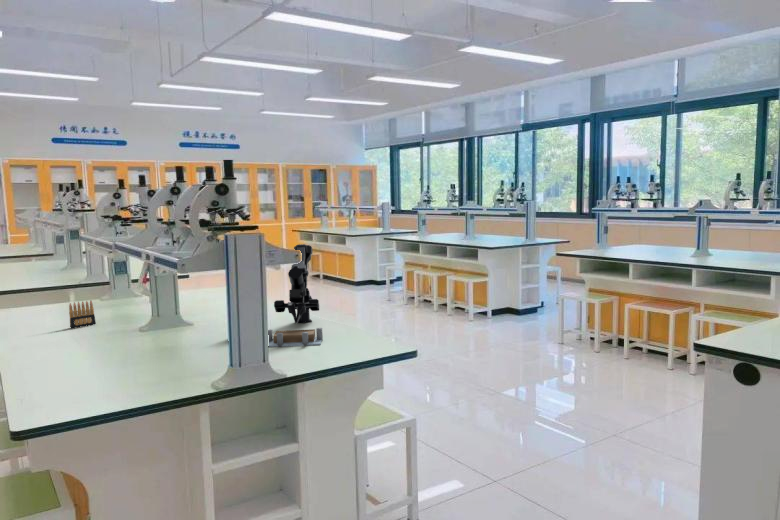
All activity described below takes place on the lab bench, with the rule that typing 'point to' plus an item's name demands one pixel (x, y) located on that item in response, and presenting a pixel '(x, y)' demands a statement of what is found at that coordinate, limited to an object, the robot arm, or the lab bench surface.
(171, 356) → the lab bench surface
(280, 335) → the peg plate
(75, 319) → the ammunition clip
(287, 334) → the shelf board
